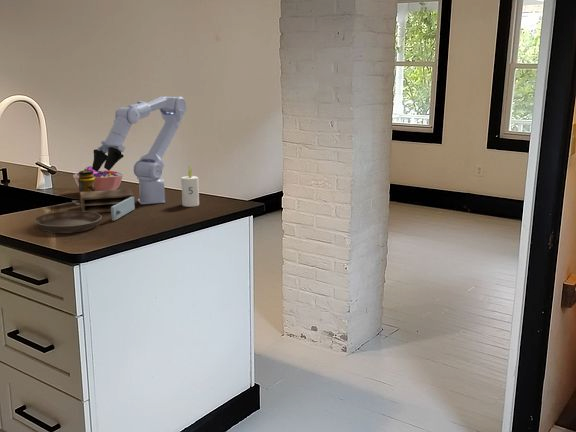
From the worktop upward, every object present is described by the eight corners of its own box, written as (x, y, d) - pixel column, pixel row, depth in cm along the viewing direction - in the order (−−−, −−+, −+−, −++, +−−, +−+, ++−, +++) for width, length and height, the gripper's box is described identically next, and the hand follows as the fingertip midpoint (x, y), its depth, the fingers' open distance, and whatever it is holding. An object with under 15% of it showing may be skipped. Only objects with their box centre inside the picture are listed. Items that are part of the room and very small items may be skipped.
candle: (182, 207, 227) (181, 167, 223) (182, 203, 233) (180, 164, 229) (199, 206, 228) (198, 166, 224) (198, 202, 234) (197, 164, 231)
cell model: (113, 199, 239) (111, 171, 236) (66, 197, 242) (63, 169, 240) (131, 190, 255) (129, 164, 252) (86, 188, 258) (84, 162, 256)
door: (132, 208, 222) (131, 196, 221) (137, 208, 221) (137, 196, 220) (111, 220, 205) (110, 207, 204) (117, 220, 205) (116, 207, 204)
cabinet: (130, 203, 232) (130, 188, 231) (134, 209, 222) (133, 194, 221) (81, 206, 226) (80, 192, 225) (82, 213, 216) (81, 198, 215)
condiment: (99, 202, 233) (97, 171, 230) (77, 205, 229) (74, 173, 226) (94, 199, 239) (92, 169, 236) (72, 201, 235) (69, 170, 232)
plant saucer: (101, 217, 212) (100, 208, 211) (103, 232, 193) (102, 222, 192) (37, 222, 205) (36, 212, 204) (33, 238, 186) (32, 227, 185)
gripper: (96, 132, 218) (80, 164, 213) (119, 128, 208) (103, 162, 203) (112, 142, 222) (96, 174, 218) (135, 139, 213) (119, 173, 208)
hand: (100, 169), depth 211 cm, fingers open, 7 cm apart
